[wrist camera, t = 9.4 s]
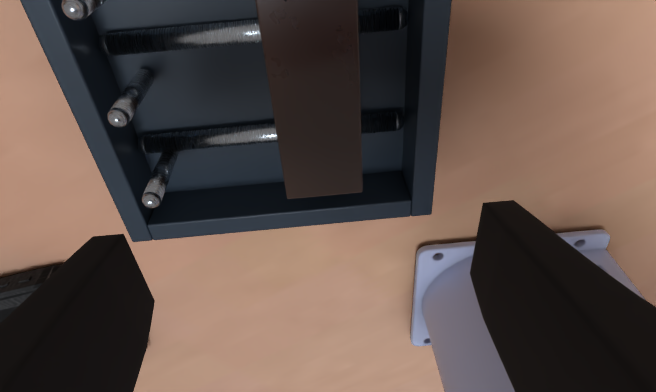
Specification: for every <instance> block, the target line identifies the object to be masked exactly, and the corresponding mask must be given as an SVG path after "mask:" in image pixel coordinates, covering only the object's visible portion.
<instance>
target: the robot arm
mask: <svg viewBox="0 0 656 392" xmlns="http://www.w3.org/2000/svg"><path fill="white" fill-rule="evenodd" d="M609 241H610V236H609V234H608V233H607V232H606V231H605V230H603V229H597V230H587V231H576V232H565V233H555V232H553V231H552V230H551V229H550V228H548V227H547V226H546V225H545V224H543V223H542V222H541V221H540V220H538V219H537V218H536V217H535V216H533V215H532V214H531V213H529V212H528V211H527V210H526V209H524V208H523V207H522V206H520V205H519V204H518V203H516V202H515V201H514V200H511V201H500V202H488V203H483V206H482V211H481V217H480V222H479V227H478V232H477V238H476V241H469V242H458V243H448V244H437V245H427V246H423V247H421V248H419V250H418V251H417V253H416V265H415V279H414V293H413V306H412V320H411V334H410V338H411V342H412V344H413V345H415V346H426V345H432V348H433V352H434V355H435V359H436V363H437V366H438V370H439V373H440V377H441V380H442V384H443V388H444V391H445V392H656V307H655V306H653V305H652V304H650V303H649V302H647V301H646V300H645V298H644V297H643V296H642V295H641V293H640V292H639V291H638V289H637V288H636V287H635V286H634V284H633V283H632V282H631V280H630V279H629V278H628V277H627V275H626V274H625V273H624V272H623V270H622V269H621V268H620V266H619V265H618V264H617V263H616V261H615V260H614V259H613V257H612V256H611V255H610V254H609V252H608V251H607V250H606V247H607V245H608V243H609ZM437 253H439V254H437ZM435 254H437V255H435ZM153 308H154V298H153V296H152V294H151V292H150V290H149V288H148V286H147V283H146V281H145V279H144V277H143V275H142V273H141V270H140V268H139V266H138V264H137V262H136V260H135V257H134V255H133V253H132V251H131V249H130V247H129V245H128V242H127V240H126V238H125V236H124V234H118V235H106V236H95V237H92V238H91V239H90V240H89V241H88V242H86V243H85V244H84V245H83V246H82V247H81V248H80V249H79V250H77V251H76V252H75V253H74V254H73V255H72V256H71V257H70V258H69V259H68V260H67V261H66V262H65V263H64V264H63V265H61V266H60V267H59V268H58V269H57V270H56V271H55V272H54V273H53V274H52V275H51V276H50V277H49V278H48V279H47V280H46V281H45V282H44V283H43V284H42V285H41V286H40V287H38V288H37V289H36V290H35V291H34V292H33V293H32V294H31V295H30V296H29V297H28V298H27V299H26V300H25V301H24V302H22V303H21V304H20V305H19V306H18V307H17V308H16V309H15V310H14V311H13V312H12V313H11V314H10V315H9V316H8V317H6V318H5V319H4V320H3V321H2V322H1V323H0V392H133V391H134V387H135V384H136V381H137V378H138V374H139V371H140V368H141V365H142V361H143V358H144V355H145V351H146V348H147V343H148V337H149V332H150V327H151V320H152V314H153Z"/></svg>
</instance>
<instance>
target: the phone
mask: <svg viewBox="0 0 656 392" xmlns="http://www.w3.org/2000/svg"><path fill="white" fill-rule="evenodd" d="M60 266H61V265H53V266H49V267H45V268H40V269H36V270H32V271H28V272H24V273H20V274H16V275H11V276H7V277H3V278H0V323H1V322H2V321H3V320H4V319H5V318H6V317H8V316H9V315H10V314H11V313H12V312H13V311H14V310H15V309H16V308H17V307H18V306H19V305H20V304H21V303H22V302H24V301H25V300H26V299H27V298H28V297H29V296H30V295H31V294H32V293H33V292H34V291H35V290H36V289H37V288H38V287H40V286H41V285H42V284H43V283H44V282H45V281H46V280H47V279H48V278H49V277H50V276H51V275H52V274H53V273H54V272H55V271H56V270H57V269H58V268H59V267H60Z"/></svg>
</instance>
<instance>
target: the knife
mask: <svg viewBox="0 0 656 392" xmlns="http://www.w3.org/2000/svg"><path fill="white" fill-rule="evenodd" d="M255 3H256V9H257V16H258V22H259V28H260V34H261V40H262V47H263V53H264V59H265V65H266V72H267V78H268V84H269V90H270V97H271V103H272V109H273V115H274V121H275V128H276V134H277V140H278V146H279V153H280V159H281V165H282V171H283V177H284V184H285V190H286V196H287V199H294V198H305V197H316V196H326V195H337V194H348V193H359V192H362V191H363V175H362V138H361V101H360V64H359V27H358V0H255Z"/></svg>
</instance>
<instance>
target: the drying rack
mask: <svg viewBox="0 0 656 392" xmlns="http://www.w3.org/2000/svg"><path fill="white" fill-rule="evenodd" d="M20 1H21V3H22V5H23V7H24V10H25V12H26V14H27V16H28V18H29V20H30V22H31V25H32V27H33V29H34V31H35V33H36V35H37V37H38V40H39V42H40V44H41V46H42V48H43V50H44V52H45V55H46V57H47V59H48V61H49V63H50V65H51V67H52V70H53V72H54V74H55V76H56V78H57V80H58V83H59V85H60V87H61V89H62V91H63V93H64V95H65V98H66V100H67V102H68V104H69V106H70V108H71V110H72V113H73V115H74V117H75V119H76V121H77V123H78V125H79V128H80V130H81V132H82V134H83V136H84V138H85V140H86V143H87V145H88V147H89V149H90V151H91V153H92V156H93V158H94V160H95V162H96V164H97V166H98V168H99V171H100V173H101V175H102V177H103V179H104V181H105V183H106V186H107V188H108V190H109V192H110V194H111V196H112V198H113V201H114V203H115V205H116V207H117V209H118V211H119V213H120V216H121V218H122V220H123V222H124V224H125V226H126V229H127V231H128V233H129V235H130V237H131V239H132V241H133V242H138V241H149V240H152V239H153V240H160V239H171V238H182V237H193V236H203V235H214V234H225V233H236V232H246V231H257V230H268V229H279V228H289V227H300V226H311V225H321V224H332V223H343V222H354V221H364V220H375V219H386V218H397V217H407V216H410V215H411V216H420V215H430V214H431V213H432V202H433V192H434V181H435V171H436V160H437V150H438V139H439V128H440V118H441V107H442V97H443V86H444V76H445V65H446V55H447V44H448V33H449V23H450V12H451V2H452V0H358V27H359V64H360V101H361V138H362V175H363V191H362V192H359V193H348V194H337V195H326V196H316V197H305V198H294V199H287V196H286V190H285V184H284V177H283V171H282V165H281V159H280V153H279V146H278V140H277V134H276V128H275V121H274V115H273V109H272V103H271V97H270V90H269V84H268V78H267V72H266V65H265V59H264V53H263V47H262V40H261V34H260V28H259V22H258V16H257V9H256V3H255V0H20Z"/></svg>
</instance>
